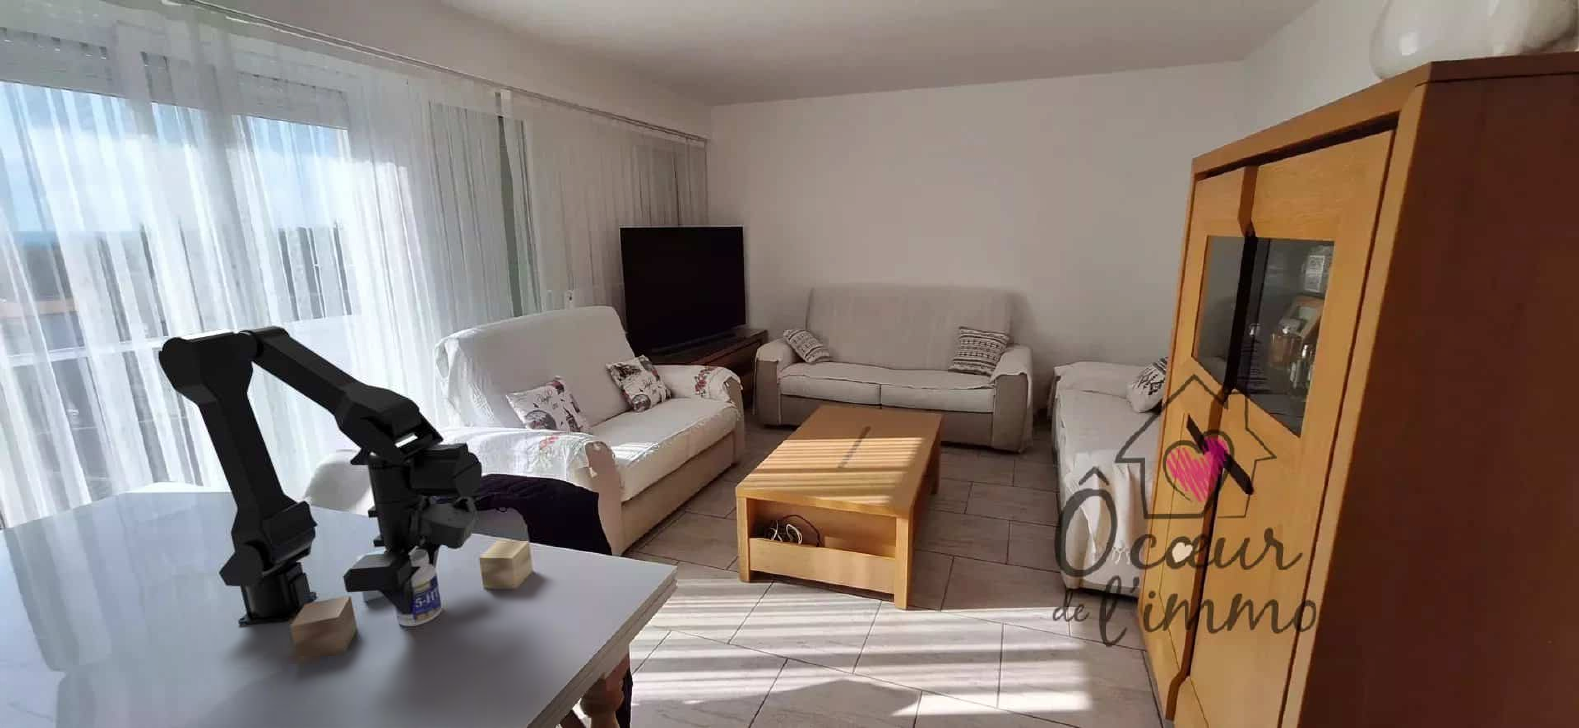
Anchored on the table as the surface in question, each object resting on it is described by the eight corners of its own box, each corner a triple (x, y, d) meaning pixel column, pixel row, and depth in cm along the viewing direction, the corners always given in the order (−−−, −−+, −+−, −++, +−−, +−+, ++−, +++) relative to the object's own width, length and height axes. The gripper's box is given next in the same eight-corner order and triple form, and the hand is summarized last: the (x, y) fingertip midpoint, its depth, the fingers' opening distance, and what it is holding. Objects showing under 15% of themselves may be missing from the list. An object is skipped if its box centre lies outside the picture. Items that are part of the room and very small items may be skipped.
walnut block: (298, 662, 78) (290, 626, 77) (312, 638, 83) (305, 604, 82) (345, 652, 80) (338, 616, 79) (357, 629, 84) (350, 595, 83)
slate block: (364, 602, 91) (357, 570, 90) (363, 586, 95) (357, 556, 94) (404, 590, 93) (399, 559, 92) (402, 575, 97) (396, 545, 96)
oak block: (483, 588, 93) (479, 557, 92) (501, 570, 98) (497, 540, 97) (516, 589, 93) (511, 558, 92) (532, 571, 98) (528, 541, 96)
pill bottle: (422, 629, 84) (411, 568, 82) (388, 625, 85) (377, 565, 83) (451, 605, 89) (441, 547, 87) (418, 602, 90) (408, 545, 88)
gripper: (429, 522, 74) (449, 640, 78) (489, 464, 93) (503, 561, 96) (329, 529, 74) (354, 647, 77) (410, 468, 92) (427, 566, 95)
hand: (418, 600), depth 86 cm, fingers closed on pill bottle, 5 cm apart
